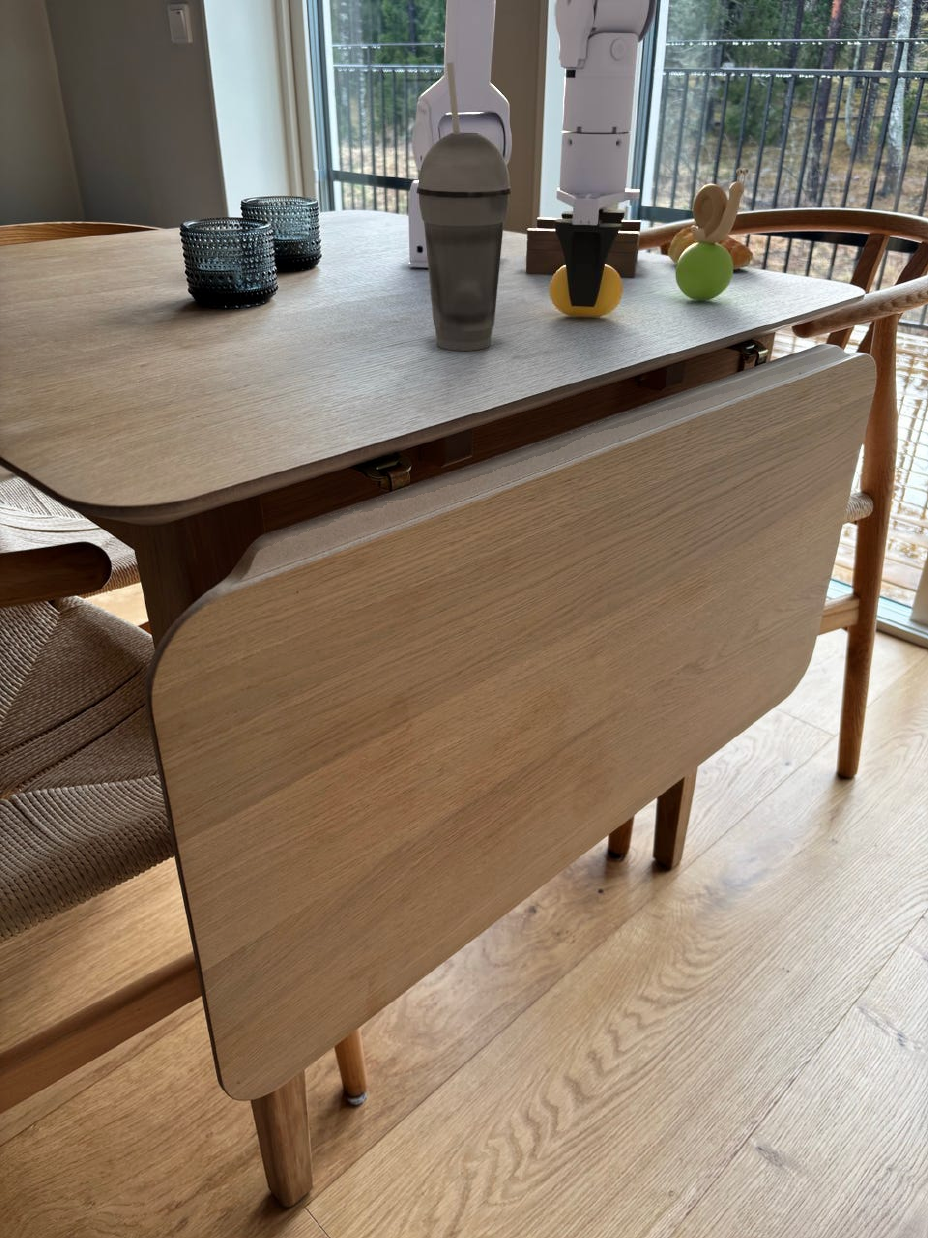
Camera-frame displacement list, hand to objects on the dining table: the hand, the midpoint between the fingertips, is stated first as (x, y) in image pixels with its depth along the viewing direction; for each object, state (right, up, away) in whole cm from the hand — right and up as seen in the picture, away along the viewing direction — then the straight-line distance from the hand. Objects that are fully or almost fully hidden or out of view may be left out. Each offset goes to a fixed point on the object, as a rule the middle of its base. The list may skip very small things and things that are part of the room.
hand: (585, 299), depth 86 cm
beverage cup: (-11, -7, -8) cm, 15 cm away
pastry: (+17, +12, +24) cm, 31 cm away
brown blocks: (+3, +11, +22) cm, 25 cm away
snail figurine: (+13, +2, +7) cm, 14 cm away
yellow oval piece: (0, -1, +1) cm, 1 cm away
